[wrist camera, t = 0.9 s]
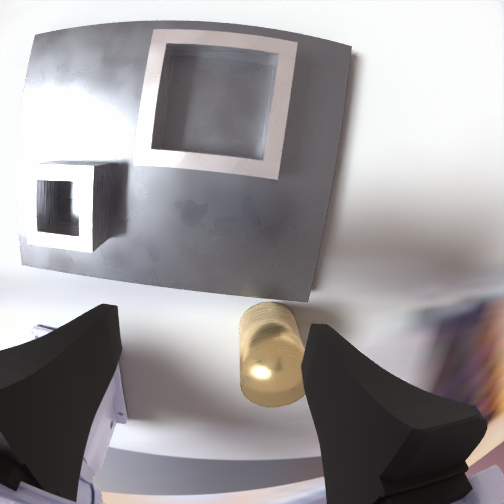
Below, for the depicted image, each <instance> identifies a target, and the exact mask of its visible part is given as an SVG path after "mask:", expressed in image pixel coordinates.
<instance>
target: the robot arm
mask: <svg viewBox="0 0 504 504" xmlns="http://www.w3.org/2000/svg"><path fill="white" fill-rule="evenodd" d="M32 334H33V338H34V340H32V341H29V342H27V343H24V344H21V345H18V346H15V347H11V348H8V349H5V350H1V351H0V504H104V503H103V500H102V494H101V491H100V489H99V487H98V486H97V485H95V484H94V483H92V480H93V477H94V476H95V475H96V474H97V473H98V472H99V471H100V469H101V467H102V465H103V461H104V458H105V455H106V452H107V449H108V446H109V443H110V440H111V437H112V434H113V431H114V428H115V425H116V422H117V423H122V424H125V423H127V420H128V418H127V413H126V407H125V401H124V395H123V388H122V382H121V375H120V367H119V358H120V355H121V351H122V347H121V338H120V329H119V318H118V307H117V306H116V305H109V304H101V305H99V306H97V307H95V308H93V309H91V310H89V311H88V312H86V313H84V314H82V315H81V316H79V317H77V318H75V319H74V320H72V321H70V322H69V323H67V324H65V325H63V326H61V327H59V328H57V329H55V330H51V329H47V328H43V327H39V326H34V327H33V328H32ZM301 372H302V379H303V386H304V390H305V394H306V398H307V401H308V404H309V408H310V411H311V414H312V418H313V421H314V424H315V428H316V431H317V435H318V439H319V443H320V449H321V456H322V462H323V470H324V478H325V487H326V499H327V504H504V475H503V473H502V472H501V470H500V469H499V467H498V465H494V466H492V467H489V468H487V469H485V470H483V471H481V472H478V473H476V474H474V475H473V476H471V477H470V478H469V479H467V477H466V475H465V472H467V470H468V465H467V464H466V462H465V460H466V459H467V458H468V457H469V456H470V454H471V453H472V452H473V451H474V449H475V448H476V447H477V446H478V444H479V443H480V442H481V440H482V439H483V437H484V435H485V433H486V430H487V422H486V420H485V419H484V417H483V416H482V414H481V413H480V412H479V410H478V409H477V407H476V406H474V405H469V404H465V403H461V402H457V401H453V400H449V399H446V398H443V397H440V396H437V395H434V394H432V393H429V392H426V391H424V390H422V389H420V388H417V387H415V386H413V385H411V384H409V383H407V382H405V381H403V380H401V379H399V378H398V377H396V376H394V375H393V374H391V373H389V372H388V371H386V370H384V369H383V368H381V367H380V366H379V365H377V364H376V363H374V362H373V361H372V360H370V359H369V358H368V357H366V356H365V355H364V354H362V353H361V352H360V351H359V350H357V349H356V348H355V347H354V346H353V345H351V344H350V343H349V342H348V341H347V340H346V339H344V338H343V337H342V336H341V335H340V334H338V333H337V332H336V331H335V330H334V329H332V328H331V327H330V326H328V325H327V324H311V328H310V332H309V336H308V340H307V344H306V348H305V352H304V356H303V360H302V364H301Z"/></svg>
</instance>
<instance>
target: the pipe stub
mask: <svg viewBox="0 0 504 504" xmlns="http://www.w3.org/2000/svg"><path fill="white" fill-rule="evenodd" d="M239 350H240V385H241V390H242V392H243V394H244V396H245V397H246V398H247V399H248V400H250V401H251V402H253V403H255V404H257V405H260V406H264V407H281V406H285V405H289V404H291V403H294V402H296V401H297V400H299V399H300V398H302V397H303V396H304V395H305V390H304V386H303V379H302V372H301V364H302V360H303V356H304V352H305V350H304V347H303V344H302V340H301V337H300V334H299V331H298V328H297V325H296V321H295V318H294V316H293V314H292V312H291V311H290V310H289V309H288V308H287V307H285V306H284V305H282V304H279V303H275V302H263V303H259V304H256V305H254V306H252V307H250V308H249V309H248V310H247V311H246V312H245V313H244V314H243V315H242V317H241V319H240V323H239Z"/></svg>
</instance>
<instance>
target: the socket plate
mask: <svg viewBox="0 0 504 504" xmlns="http://www.w3.org/2000/svg"><path fill="white" fill-rule="evenodd" d="M351 48H352V46H349V45H345V44H341V43H337V42H334V41H330V40H326V39H321V38H317V37H313V36H308V35H303V34H298V33H293V32H288V31H282V30H276V29H270V28H263V27H256V26H248V25H240V24H230V23H218V22H203V21H133V22H118V23H107V24H97V25H89V26H82V27H75V28H68V29H62V30H57V31H52V32H47V33H42V34H37V35H35V38H34V42H33V46H32V50H31V55H30V59H29V64H28V70H27V75H26V81H25V87H24V93H23V100H22V108H21V117H20V127H19V140H18V158H17V209H18V228H19V240H20V251H21V260H22V265H25V266H31V267H36V268H42V269H48V270H54V271H59V272H65V273H71V274H78V275H84V276H90V277H97V278H103V279H110V280H117V281H124V282H131V283H138V284H145V285H152V286H160V287H168V288H176V289H184V290H192V291H200V292H209V293H218V294H227V295H236V296H246V297H256V298H266V299H277V300H288V301H299V302H308V300H309V296H310V292H311V287H312V283H313V278H314V274H315V269H316V265H317V260H318V255H319V251H320V246H321V241H322V236H323V231H324V226H325V221H326V216H327V211H328V205H329V200H330V195H331V189H332V184H333V178H334V172H335V166H336V160H337V154H338V148H339V141H340V135H341V128H342V121H343V114H344V107H345V99H346V92H347V84H348V75H349V67H350V58H351Z"/></svg>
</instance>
